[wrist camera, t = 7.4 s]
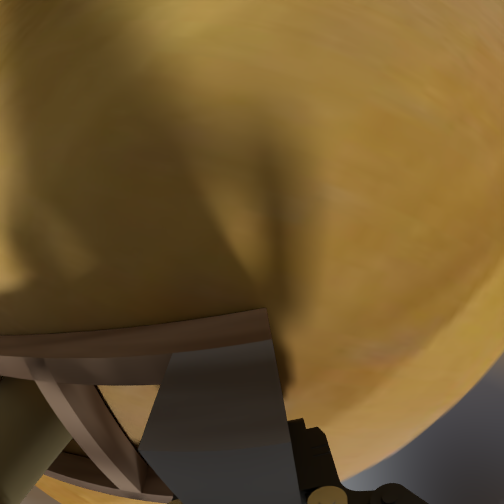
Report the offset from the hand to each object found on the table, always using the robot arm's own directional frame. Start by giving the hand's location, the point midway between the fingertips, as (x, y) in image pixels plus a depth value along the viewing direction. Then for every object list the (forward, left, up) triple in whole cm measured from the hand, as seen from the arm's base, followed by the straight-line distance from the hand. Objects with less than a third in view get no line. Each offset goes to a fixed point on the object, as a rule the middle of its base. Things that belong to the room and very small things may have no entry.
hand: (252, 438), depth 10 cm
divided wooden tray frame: (0, -8, -2) cm, 9 cm away
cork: (0, -14, -2) cm, 14 cm away
